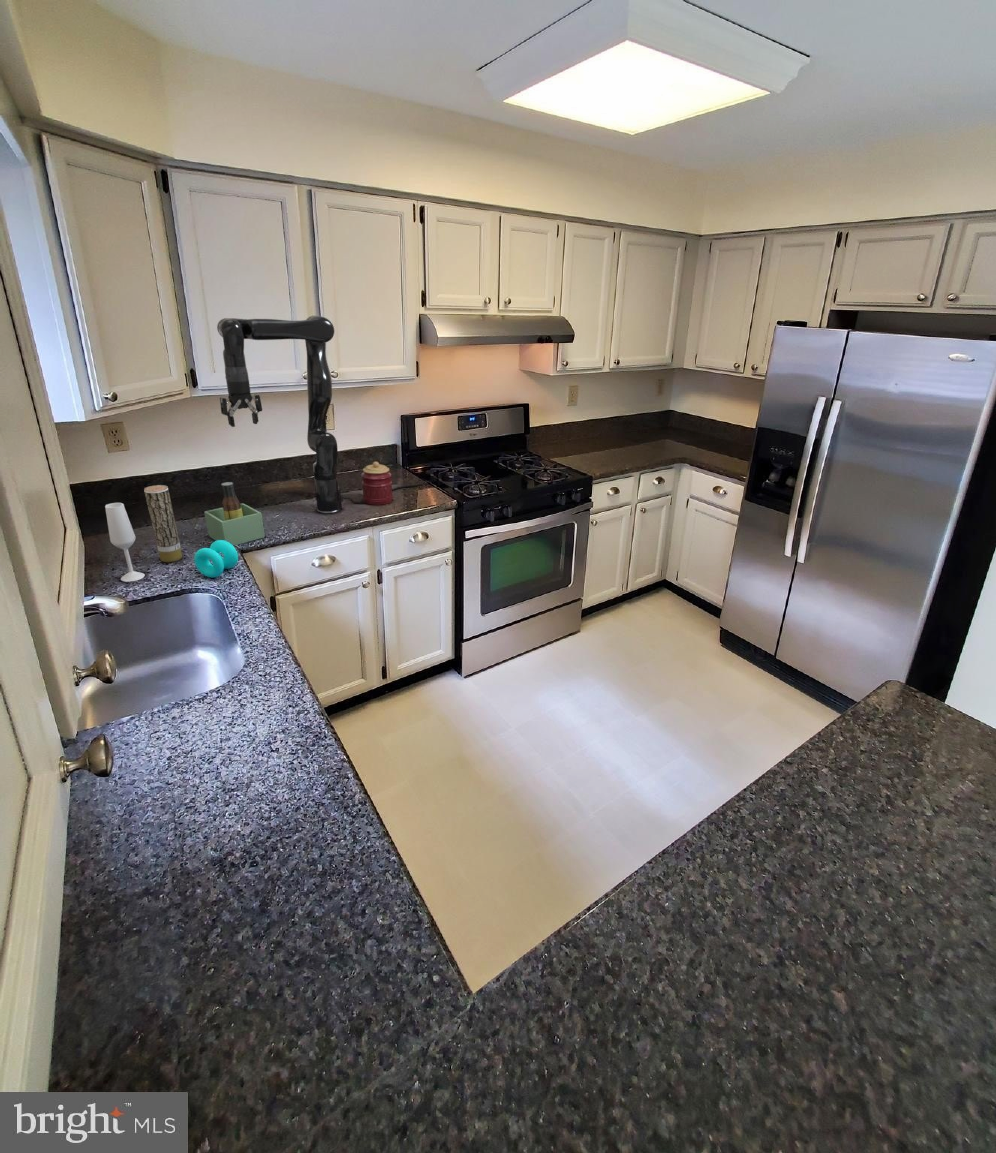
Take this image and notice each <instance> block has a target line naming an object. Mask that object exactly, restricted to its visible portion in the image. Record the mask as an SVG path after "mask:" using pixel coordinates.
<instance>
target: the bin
mask: <svg viewBox="0 0 996 1153" xmlns="http://www.w3.org/2000/svg"><path fill="white" fill-rule="evenodd" d="M240 504H241V508H242V513H243V517H239V518H235V519H231V520H227V521H225V516H224V511H223V507H219V508H214V509H209V510H206V511H204V517H205V522H206V528H207V533H208V537H209V538H211V539H212V540H214V541H217V540H224V541H227V542H229V543H230V544H232V545H233V546H234V547H235V546H237V545H241V544H244V543H249V542H253V541H256V540H260V539H264V538H265V537H266V536H265V529H264V521H263V515H262V512H260V511H258V510H256V509H254V508H253V507H251V506H249V505H247V504H245V503H240Z"/></svg>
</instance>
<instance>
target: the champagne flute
mask: <svg viewBox="0 0 996 1153" xmlns="http://www.w3.org/2000/svg"><path fill="white" fill-rule="evenodd" d="M104 508H105V514H106V515H105V516H106V521H107V522H106V523H107V528H108V535H109V541H110V543H111V544H112V545H113V546H114V547H115V548H118V549H120V550H123V553H124V556H125V561H126V564H127V565H126V566H127V569H128V572H127V573H126V574H124V575H122V576H121V577H120V580H121V581H122V582H126V583H129V582H136V581H139V580H142V579H143V578H145V575H146V574H145V573H143V572H140V571H137V570H136V571H135V570H134V568H133V567H134V566H133V563H132V559H131V556H130V552H129V549H130V548H131V547H132V546H133V544H134V543H135V541H136V535H135V532H134V529H133V526H132V523H131V521H130V519H129V516H128V513H127V510H126V508H125V504H124V503H122V502H111V503H107V504H105V506H104Z"/></svg>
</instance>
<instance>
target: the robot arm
mask: <svg viewBox="0 0 996 1153" xmlns="http://www.w3.org/2000/svg"><path fill="white" fill-rule="evenodd" d="M216 330H217V332H218V334H219V336H220V337H222V339H223V341H222V342H223V351H222V356H223V357H222V358H223V363H224V375H225V381H226V388H227V393H228V396H227V397H223V396H221V397H219V404H220V413H221V414H222V415H223V416H226V417H227V421H228V425H229V426H230V427H231V428H235V427H236V422H235V417H234V415H235V412H237V410H242V409H248V410H249V411H250V412H251V418H252V424H254V425H258V423H259V413H260V412H263V406H262V401H261V395H260V394H256V393H254V394H251V385H250V377H249V372H248V369H247V368H248V367H247V363H246V362H247V361H246V355H245V340H252V341H281V340H304V341H305V342H304V343H305V349H306V391H307V409H308V411H307V412H308V420H307V421H308V423H307V424H308V425H307V435H306V436H307V438H306V440H307V446H308V447H309V449H310V450H311V451H313V452H314V453H315V458H316V459H315V460H316V461H315V462H314V463H313V464H312V470H313V479H314V489H315V490H314V491H315V502H316V511H317V513H320V514H327V515H330V514H336V513H338V512H340V511H342V510H343V503H342V502H344V500H348V501H350V502H351V503H353V504H366V503H365V501H364V500H362V501H359V500H358V501H357V500H354V499H352V498H350V497H348V496H344V495H342V492H341V490H342V489H341V487H339V481H338V467H337V466H338V463H339V453H338V452H339V451H338V441H337V438H336V437H335V435H333V433H330V432H328V428H327V415H328V411H329V408H330V406H331V403H332V398H333V382H332V380H333V379H332V375H331V371H330V367H329V364H328V360H327V352H326V348H327V347H326V346H327V343H328V342H330V341H331V340H332V339H333V338H334V336H335V325H334V324H333V323H332V321H331V320H329V318H327V317H324V316H322V315H321V316H320V315H310V316H308V317H306V319H303V320H287V319H277V318H276V319H275V318H273V319H272V318H248V319H247V318H237V317H236V318H233V317H224V318H221V319H220V320H219V321H218V323H217V325H216ZM252 401H254V405H253V404H252ZM228 403H230V404H229V406H228ZM429 481H430V480H424V481H421V482H420V483H423V484H426V483H425V482H428V483H427V484H430V485H433V483H432V482H431V481H430V482H429ZM416 484H417V485H414V484H406V485H407V486H405V485H400V486H401V487H399V486H396V487H397V488H395V487H393V488H394V489H393V488H392V492H393V491H395V490H399V489H403V488H413V487H418V486H421V485H423V484H419V483H416Z"/></svg>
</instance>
